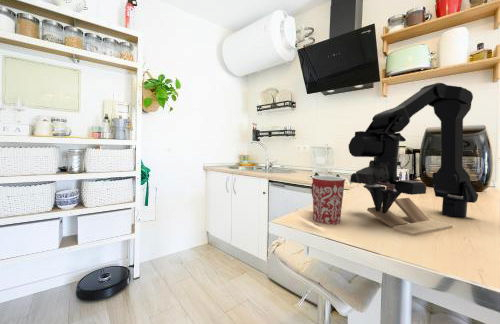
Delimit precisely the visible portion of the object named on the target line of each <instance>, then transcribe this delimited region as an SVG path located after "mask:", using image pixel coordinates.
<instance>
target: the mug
mask: <svg viewBox="0 0 500 324" xmlns="http://www.w3.org/2000/svg"><path fill="white" fill-rule="evenodd" d="M311 178H312V183H311V197H312V215H313V216H312V219H313V221H315V222H316V223H319V224H323V225H337V224H340V223H341V217H342V216H341V215H342V208H343V198H344V190H345V188H344V187H345V182H346V178H345V177H342V176H341V177H340V176H334V175H313V176H311ZM316 223H314V224H315V225H316V226H319V227H320V225H319V224H316Z"/></svg>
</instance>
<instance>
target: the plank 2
mask: <svg viewBox="0 0 500 324" xmlns="http://www.w3.org/2000/svg"><path fill="white" fill-rule="evenodd" d="M393 203H395V204H396V206H398V207H399V209H400V210H401V211H402V212H403V213H404V214H405V215H406V216H407V218H408V219H409V220H410V221H411V223H416V222H422V221H428V220H431V219H430V218H429V217H428V216H427V215H426V214H425V213H424V212H423V211H422V210H421V209H420V208H419V206H418V205H416V204H415V202H414V201H413V200H412V199H411V198H410V197H402V198H396V200H395V201H394V202H393Z"/></svg>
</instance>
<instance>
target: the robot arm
mask: <svg viewBox="0 0 500 324" xmlns="http://www.w3.org/2000/svg"><path fill="white" fill-rule="evenodd" d="M473 99H474V94H473V93H472V91H470V89H467V88H465V87H462V86H457V85H448V84H445V83H443V82H436V83H432V84H428V85H425V86H423V87H421V88H420V90H419V91H417V92H415V93H414V94H413V95H411V96H410V97H408V98H407V99H406V100H404V101H402V102H401V103H399V104H398V105H397V106H395V107H393V108H389V109H386V110H383V111H381V112H379V113H376V114H375V115H373V117H372V121H371V122H370V124H369V125H368V127H367V128H366V129H365V131H364V130H362V131H361V130H360V131H359V130H358V131H354V136H353V137H352V138H351V139H350V141H349V143H348V152H349V153H350V155H351V156H352V157H355V158H373V160H369V163H368V166H366V167H364V168H360V169H359V170H356V171H355V172H353V173H351V175H350V179H349V180H350V183H354V184H363V186H362V187H363V188H364V189H366V190H367V191H368V192H369V193H370V196H371V198H372V199H371V200H372V201H373V204H374V207H375V208H376V211H380V210H381V207H382V213H387V211H388V210H389V211H390V208H391V206H392V205H393V204H394V203H395V202H394V201H395V200H396V199H398V197H399V196H401V194H405V195H410V196H411V195H424V194H425V195H426V194H427V185H426V184H425V183H424V182H423V181H418V180H411V179H405V180H404V179H403V180H400V178H401V177H400V176H397V172H398V171H397V170H398V167H399V166H401V165H402V161H399V151H400V142H406V138H405V137H404V136H403V135H402V134H401V132H402V131H403V130H404V129H406V127H407V126H408V125H409V124H410V121H411V118H412V117H413V116H415V115H416V114H417V113H419V112H420V111H422V110H423V109H424V108H426V107H427V106H429V107H432V108H433V114H434V115H435V116H436V117H437V118H438V119H439V121H440V167H439V168H438V169H437V171H436V172H435V171H434V172H433V173H432V175H431V176H432V183H431V184H432V186H433V192H434V196H435V197H438V198H442V205H441V206H442V207H441V216H445V217H449V218H458V219H459V218H460V219H465V218H467V213H468V203H472V204H474V203H476V202H477V201H478V198H479V194H478V193H477V191H476V189H475V188H474V186H473V185H472V183H471V176H470V174H469V173H468V172H467V171H466V170H465V168H464V167H463V160H464V159H463V151H464V149H463V148H464V146H463V143H464V140H463V139H464V134H463V133H464V130H463V129H464V118H465V117H466V116H467V115H468V113H469V112H470V111H471V109H472V101H473Z"/></svg>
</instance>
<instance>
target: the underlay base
mask: <svg viewBox="0 0 500 324" xmlns="http://www.w3.org/2000/svg"><path fill="white" fill-rule="evenodd" d="M453 228H454V226H453V224H450V223H446V222H442V221H439V220H438V221H437V220H433V219H430V220H428V221H422V222H416V223H413V222H411V223H408V224H404V225H398V226H393V228H392V230H394V231H397V232H399V233H403V234H405V235H408V236H411V237H415V236H417V237H418V236H421V235H426V234H431V233H436V232H440V231H446V230H451V229H453Z"/></svg>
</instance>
